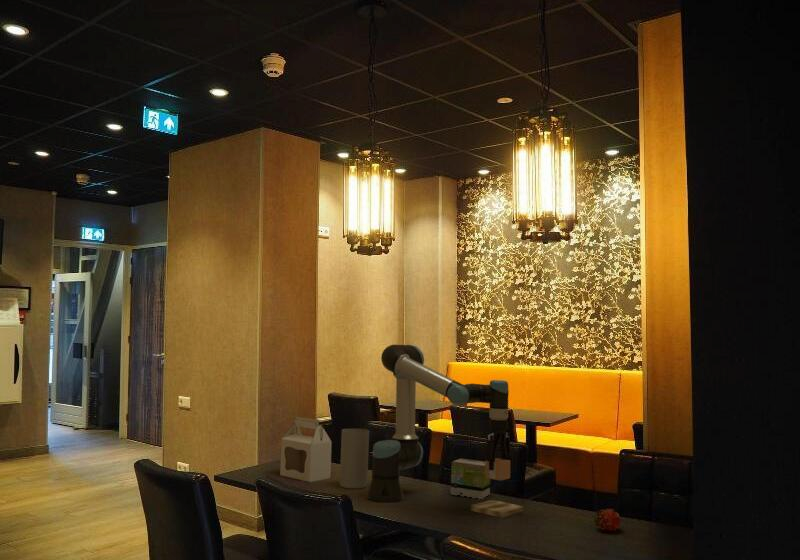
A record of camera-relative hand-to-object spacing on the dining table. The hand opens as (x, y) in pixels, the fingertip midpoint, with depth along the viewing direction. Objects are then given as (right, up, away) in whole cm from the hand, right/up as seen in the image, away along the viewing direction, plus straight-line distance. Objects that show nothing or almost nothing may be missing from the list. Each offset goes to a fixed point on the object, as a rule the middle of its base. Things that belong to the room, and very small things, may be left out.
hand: (498, 477), depth 269 cm
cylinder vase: (-60, -15, +37) cm, 73 cm away
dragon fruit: (+36, -12, -25) cm, 46 cm away
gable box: (-85, -16, +55) cm, 103 cm away
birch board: (-1, -13, -1) cm, 13 cm away
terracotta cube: (0, 0, 0) cm, 0 cm away
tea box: (-8, -16, +25) cm, 31 cm away
